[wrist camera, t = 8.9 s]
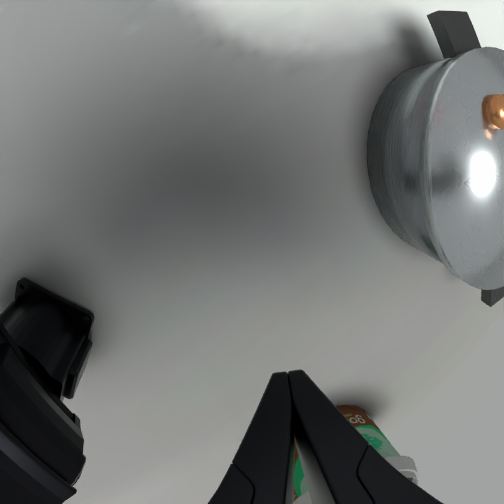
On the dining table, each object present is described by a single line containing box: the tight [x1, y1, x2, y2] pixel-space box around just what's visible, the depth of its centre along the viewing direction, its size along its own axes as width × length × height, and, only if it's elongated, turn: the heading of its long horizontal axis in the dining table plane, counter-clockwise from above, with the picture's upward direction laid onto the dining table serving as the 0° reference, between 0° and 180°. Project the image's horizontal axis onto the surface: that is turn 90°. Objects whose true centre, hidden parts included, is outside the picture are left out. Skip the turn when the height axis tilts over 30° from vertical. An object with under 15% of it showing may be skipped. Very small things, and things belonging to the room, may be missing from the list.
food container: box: [293, 405, 419, 504], centre depth 23 cm, size 12×6×10 cm, turn 101°
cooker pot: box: [367, 11, 504, 307], centre depth 18 cm, size 15×21×6 cm
